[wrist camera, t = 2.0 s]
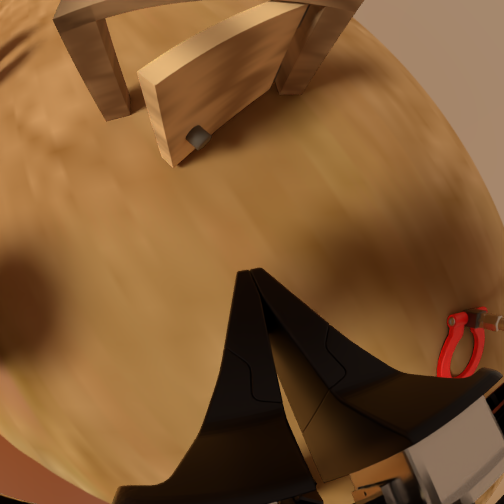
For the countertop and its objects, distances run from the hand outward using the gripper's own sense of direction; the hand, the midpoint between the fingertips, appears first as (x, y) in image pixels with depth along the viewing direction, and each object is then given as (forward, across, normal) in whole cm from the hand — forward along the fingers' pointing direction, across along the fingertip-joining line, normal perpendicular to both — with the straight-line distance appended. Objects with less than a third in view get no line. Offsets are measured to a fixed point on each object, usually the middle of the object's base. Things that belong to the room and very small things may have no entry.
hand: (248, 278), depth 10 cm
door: (+14, -2, -2) cm, 14 cm away
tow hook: (-1, -23, +16) cm, 28 cm away
